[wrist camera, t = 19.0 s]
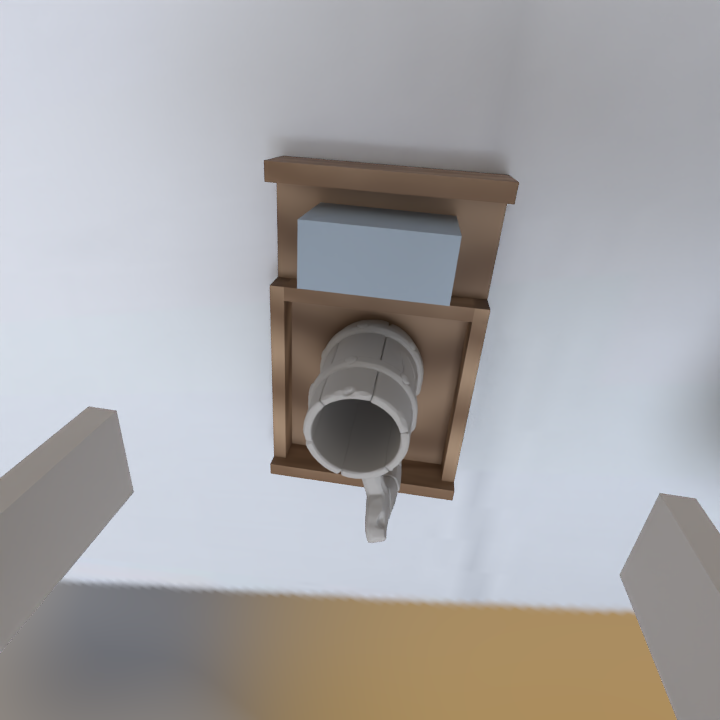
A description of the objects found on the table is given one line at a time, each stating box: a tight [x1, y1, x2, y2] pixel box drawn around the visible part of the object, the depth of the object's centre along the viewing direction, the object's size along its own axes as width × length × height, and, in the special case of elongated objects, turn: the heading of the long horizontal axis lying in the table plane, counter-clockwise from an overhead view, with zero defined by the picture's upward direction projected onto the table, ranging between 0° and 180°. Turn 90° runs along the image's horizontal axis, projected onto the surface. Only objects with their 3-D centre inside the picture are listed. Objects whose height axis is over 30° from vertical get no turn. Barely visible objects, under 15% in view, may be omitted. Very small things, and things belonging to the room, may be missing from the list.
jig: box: [264, 156, 519, 500], centre depth 34 cm, size 24×15×4 cm, turn 176°
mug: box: [303, 320, 424, 543], centre depth 31 cm, size 8×12×12 cm, turn 15°
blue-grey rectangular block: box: [297, 202, 462, 306], centre depth 29 cm, size 9×4×6 cm, turn 86°
